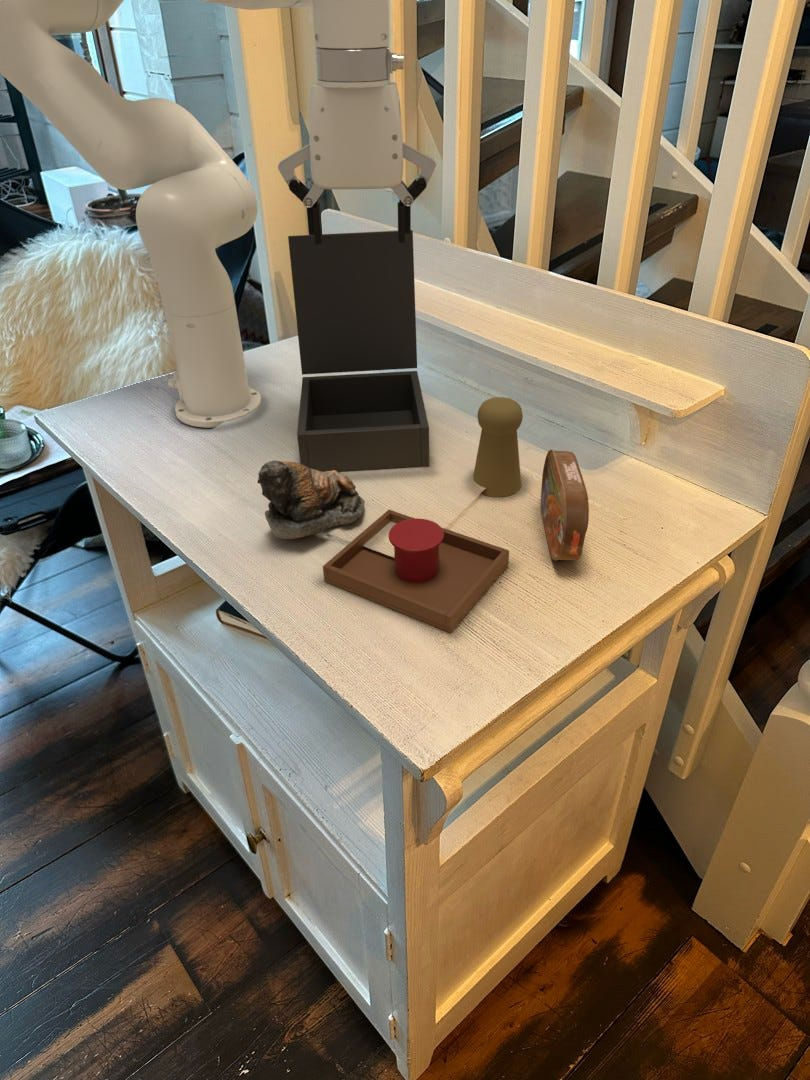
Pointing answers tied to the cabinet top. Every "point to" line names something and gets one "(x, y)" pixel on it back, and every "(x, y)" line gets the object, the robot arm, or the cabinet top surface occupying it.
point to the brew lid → (354, 301)
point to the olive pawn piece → (498, 447)
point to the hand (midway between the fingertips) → (360, 240)
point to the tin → (564, 505)
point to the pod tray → (433, 601)
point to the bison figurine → (307, 499)
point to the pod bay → (363, 422)
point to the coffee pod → (416, 549)
